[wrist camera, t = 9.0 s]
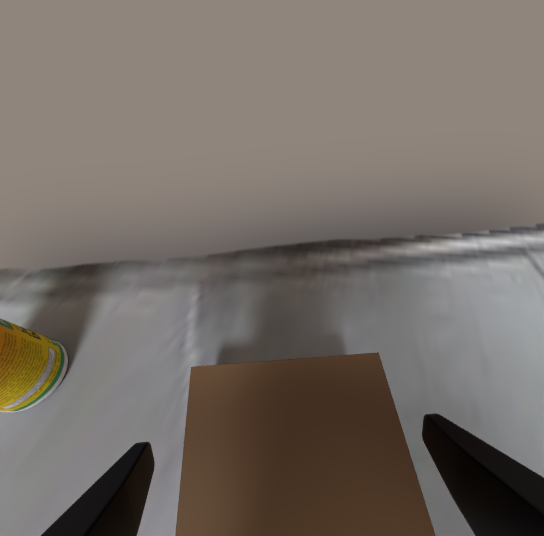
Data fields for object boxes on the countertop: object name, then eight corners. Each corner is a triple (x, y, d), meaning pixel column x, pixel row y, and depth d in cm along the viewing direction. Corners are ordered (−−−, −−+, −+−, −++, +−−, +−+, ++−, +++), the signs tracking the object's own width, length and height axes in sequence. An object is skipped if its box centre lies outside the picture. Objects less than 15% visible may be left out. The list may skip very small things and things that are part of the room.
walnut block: (326, 508, 14) (475, 664, 4) (235, 519, 14) (158, 715, 4) (311, 406, 17) (378, 352, 7) (234, 412, 17) (191, 367, 7)
